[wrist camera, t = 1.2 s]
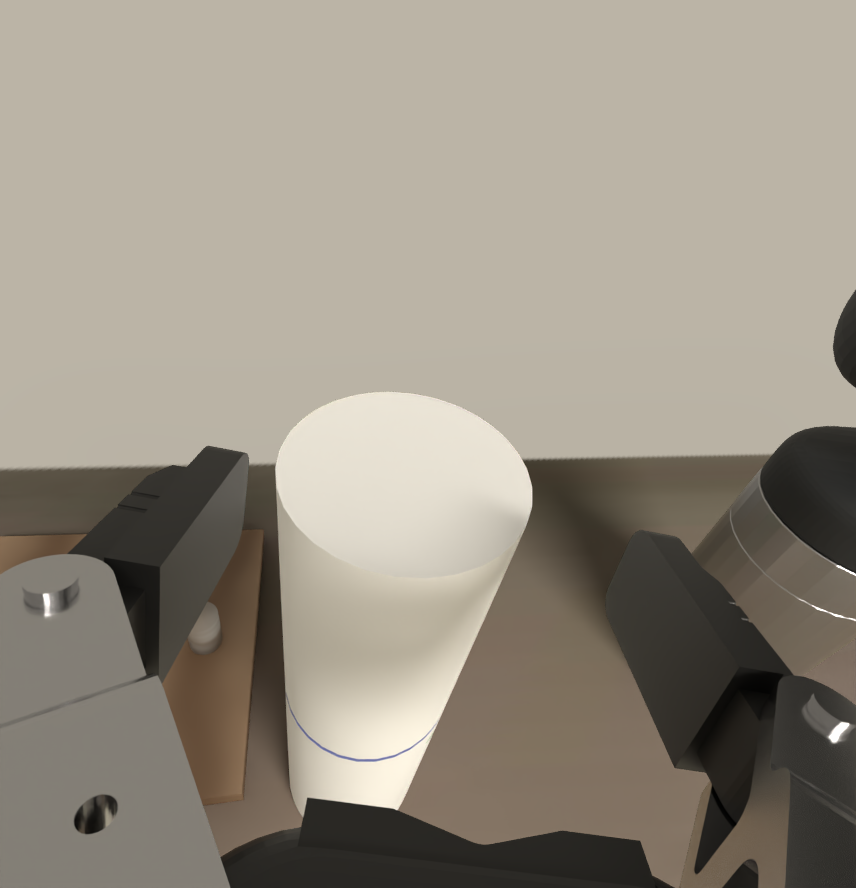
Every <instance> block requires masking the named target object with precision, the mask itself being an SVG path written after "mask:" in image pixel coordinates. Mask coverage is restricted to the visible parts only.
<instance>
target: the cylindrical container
mask: <svg viewBox="0 0 856 888" xmlns="http://www.w3.org/2000/svg"><path fill="white" fill-rule="evenodd" d="M275 472H276V494H277V517H278V540H279V563H280V586H281V608H282V628H283V649H284V670H285V692H286V715H287V738H288V758H289V778H290V789H291V793H292V797H293V800H294V803H295V805H296V807H297V809H298V811H299V813H300V814H301V815H302V817H303V816H304V811H305V806H306V802H307V797H308V798H316V799H324V800H331V801H339V802H346V803H354V804H362V805H369V806H377V807H385V808H392V809H395V810H398V808H399V806H400V805H401V803H402V801H403V799H404V797H405V795H406V793H407V791H408V788H409V786H410V784H411V782H412V779H413V777H414V775H415V773H416V770H417V768H418V766H419V764H420V761H421V759H422V757H423V755H424V752H425V750H426V748H427V746H428V743H429V741H430V739H431V737H432V734H433V732H434V730H435V728H436V725H437V723H438V721H439V719H440V716H441V714H442V712H443V710H444V708H445V705H446V703H447V701H448V699H449V696H450V694H451V692H452V690H453V688H454V685H455V683H456V681H457V679H458V676H459V674H460V672H461V670H462V668H463V665H464V663H465V661H466V659H467V656H468V654H469V652H470V650H471V647H472V645H473V643H474V641H475V639H476V636H477V634H478V632H479V630H480V627H481V625H482V623H483V621H484V619H485V616H486V614H487V612H488V610H489V607H490V605H491V603H492V601H493V598H494V596H495V594H496V592H497V590H498V587H499V585H500V583H501V581H502V578H503V576H504V574H505V572H506V570H507V567H508V565H509V563H510V561H511V558H512V556H513V554H514V552H515V549H516V547H517V545H518V543H519V541H520V538H521V536H522V534H523V532H524V529H525V527H526V525H527V522H528V519H529V515H530V512H531V508H532V485H531V481H530V478H529V474H528V471H527V468H526V466H525V464H524V462H523V461H522V459H521V457H520V455H519V453H518V452H517V451H516V449H515V448H514V447H513V446H512V445H511V443H509V441H508V440H507V438H505V437H504V436H503V435H502V434H501V433H500V432H499V431H498V430H497V429H495V428H494V427H493V426H492V425H491V424H489V423H488V422H486V421H485V420H483V419H482V418H480V417H479V416H477V415H475V414H473V413H471V412H469V411H467V410H465V409H463V408H461V407H459V406H457V405H454V404H451V403H448V402H446V401H443V400H440V399H437V398H432V397H428V396H423V395H418V394H412V393H402V392H371V393H365V394H359V395H352V396H349V397H346V398H342V399H339V400H335V401H333V402H330V403H328V404H326V405H324V406H322V407H320V408H318V409H316V410H315V411H313V412H312V413H310V414H309V415H307V416H306V417H304V418H303V419H302V420H301V421H300V422H299V423H298V424H297V425H296V426H295V427H294V428H293V429H292V430H291V431H290V432H289V434H288V436H287V437H286V439H285V441H284V443H283V444H282V446H281V448H280V450H279V455H278V459H277V463H276V467H275Z"/></svg>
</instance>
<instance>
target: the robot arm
mask: <svg viewBox="0 0 856 888" xmlns="http://www.w3.org/2000/svg"><path fill="white" fill-rule="evenodd" d="M833 351H834V357H835V362H836V365H837V367H838V368H839V370H840V372H841V374H842V375H843V377H844V378H845V379H846V380H847V381H848V382H849V383H850V384H852V385H853V386H854V387H856V290H855V292H854V294H853V295H852V296H851V298H850V299H849V301H848V302H847V304H846V306H845V308H844V310H843V312H842V314H841V316H840V319H839V321H838V324H837V327H836V330H835V336H834V343H833ZM248 468H249V457H248V454H247V453H243V452H238V451H233V450H227V449H223V448H217V447H212V446H206V447H205V448H204V449H203V450H202V451H201V452H200V453H199V454H198V455H197V457H196V458H195V459H194V460H193V461H192V462H191V463H190V464H189V465H188V466H187V467H181V466H175V465H171V466H169V467H167V468H165V469H162V470H160V471H158V472H155V473H153V474H151V475H149V476H147V477H146V478H145V479H144V480H143V481H142V482H141V483H140V484H139V485H138V486H137V487H136V488H135V489H134V490H133V491H132V493H131V495H129V494H128V495H127V496H126V497H125V498H124V499H123V500H122V501H121V502H120V503H119V504H118V507H117V508H114V509H113V510H112V511H111V512H110V513H109V514H108V515H107V516H106V517H105V518H104V519H103V520H102V521H100V522H99V523H98V524H97V525H96V526H95V527H94V528H93V529H92V530H91V531H90V532H89V533H88V534H87V535H86V536H85V537H84V538H83V539H82V540H81V541H80V542H79V543H78V544H77V545H76V546H75V547H74V548H73V549H71V550H70V551H69V552H68V553H67V554H61V555H51V556H45V557H41V558H36V559H33V560H30V561H27V562H24V563H21V564H19V565H16V566H14V567H12V568H10V569H8V570H7V571H5V572H3V573H2V574H0V888H674V887H672V886H670V885H669V884H667V883H665V882H663V881H661V880H660V879H658V878H656V877H654V876H652V874H651V871H650V868H649V865H648V863H647V860H646V857H645V854H644V851H643V848H642V845H641V842H640V841H636V840H629V839H621V838H613V837H606V836H598V835H591V834H583V833H575V832H568V831H558V832H553V833H548V834H543V835H537V836H532V837H527V838H521V839H516V840H511V841H506V842H500V843H495V844H489V845H481V844H476V843H473V842H471V841H468V840H466V839H463V838H461V837H459V836H456V835H454V834H452V833H449V832H447V831H445V830H442V829H440V828H438V827H435V826H433V825H430V824H428V823H426V822H423V821H421V820H419V819H416V818H414V817H412V816H409V815H407V814H405V813H402V812H400V811H398V810H395V809H392V808H385V807H377V806H369V805H362V804H354V803H346V802H339V801H331V800H324V799H316V798H308V797H307V802H306V806H305V811H304V816H303V821H302V826H301V827H299V828H294V829H288V830H283V831H279V832H276V833H272V834H269V835H266V836H263V837H260V838H257V839H255V840H253V841H250V842H248V843H246V844H244V845H241V846H239V847H237V848H235V849H233V850H232V851H230V852H228V853H227V854H225V855H223V856H222V857H220V855H219V852H218V849H217V846H216V843H215V840H214V837H213V834H212V831H211V828H210V825H209V822H208V819H207V816H206V813H205V810H204V807H203V804H202V801H201V798H200V795H199V792H198V789H197V786H196V783H195V780H194V777H193V775H192V772H191V769H190V766H189V763H188V760H187V757H186V754H185V751H184V748H183V745H182V742H181V739H180V736H179V733H178V730H177V727H176V724H175V721H174V718H173V715H172V712H171V709H170V706H169V703H168V700H167V697H166V694H165V691H164V688H163V686H162V683H163V681H164V679H165V678H166V676H167V674H168V672H169V670H170V669H171V667H172V665H173V663H174V661H175V659H176V658H177V656H178V654H179V652H180V650H181V649H182V647H183V645H184V643H185V641H186V640H187V638H188V636H189V634H190V632H191V630H192V629H193V627H194V625H195V623H196V621H197V620H198V618H199V616H200V614H201V612H202V611H203V609H204V607H205V605H206V603H207V602H208V600H209V598H210V596H211V594H212V592H213V591H214V589H215V587H216V585H217V583H218V582H219V580H220V578H221V576H222V574H223V573H224V571H225V569H226V567H227V565H228V564H229V562H230V560H231V558H232V556H233V554H234V553H235V551H236V548H237V546H238V543H239V540H240V536H241V533H242V528H243V522H244V512H245V501H246V490H247V479H248ZM605 606H606V614H607V618H608V620H609V622H610V625H611V627H612V629H613V631H614V634H615V636H616V638H617V640H618V642H619V645H620V647H621V649H622V651H623V654H624V656H625V658H626V660H627V663H628V665H629V667H630V669H631V672H632V674H633V676H634V678H635V680H636V683H637V685H638V687H639V689H640V692H641V694H642V696H643V698H644V701H645V703H646V705H647V707H648V709H649V712H650V714H651V716H652V718H653V721H654V723H655V725H656V727H657V730H658V732H659V734H660V736H661V738H662V741H663V743H664V745H665V747H666V750H667V752H668V754H669V756H670V759H671V761H672V763H673V765H674V767H675V768H678V769H685V770H692V771H699V772H705V773H707V775H708V777H709V779H710V782H709V783H708V785H707V786H706V788H705V789H704V790H703V792H702V794H701V797H700V801H699V805H698V809H697V814H696V818H695V822H694V826H693V831H692V835H691V839H690V843H689V848H688V852H687V856H686V861H685V865H684V869H683V873H682V878H681V882H680V886H679V888H856V705H854V704H853V703H852V702H851V701H849V700H848V699H847V698H845V697H844V696H842V695H841V694H839V693H838V692H836V691H834V690H833V689H831V688H829V687H827V686H825V685H823V684H821V683H819V682H817V681H814V680H812V679H809V678H805V677H802V676H803V675H805V674H806V673H808V672H809V671H810V670H812V669H813V668H815V667H816V666H818V665H819V664H820V663H822V662H823V661H825V660H826V659H827V658H829V657H830V656H832V655H833V654H834V653H836V652H837V651H839V650H840V649H842V648H843V647H844V646H846V645H847V644H849V643H850V642H851V641H853V640H854V639H856V428H851V427H838V426H824V427H814V428H810V429H805V430H802V431H800V432H797V433H795V434H794V435H792V436H791V437H789V438H788V439H787V440H785V441H784V442H783V443H782V444H781V446H780V447H779V448H778V449H777V450H776V451H775V452H774V454H773V455H772V456H771V457H770V458H769V460H768V461H767V462H766V463H765V465H764V466H763V467H762V468H761V469H760V471H759V472H758V473H757V474H756V475H755V477H754V478H753V479H752V480H751V482H750V483H749V484H748V485H747V486H746V488H745V489H744V490H743V491H742V492H741V494H740V495H739V496H738V497H737V499H736V500H735V501H734V503H733V504H732V505H731V506H730V507H729V509H728V510H727V511H726V512H725V514H724V515H723V516H722V517H721V518H720V520H719V521H718V522H717V523H716V524H715V526H714V527H713V528H712V529H711V531H710V532H709V533H708V534H707V535H706V537H705V538H704V539H703V540H702V541H701V543H700V544H699V545H698V546H697V548H696V549H695V550H694V551H693V552H692V554H691V553H690V552H689V550H688V549H687V548H686V547H685V545H684V544H683V543H682V541H681V540H680V539H679V538H677V537H675V536H670V535H665V534H660V533H654V532H649V531H644V530H639V531H637V532H636V533H635V534H634V535H633V536H632V537H631V539H630V541H629V543H628V546H627V548H626V550H625V552H624V554H623V557H622V559H621V561H620V563H619V565H618V567H617V570H616V572H615V574H614V576H613V578H612V581H611V583H610V585H609V587H608V590H607V594H606V603H605Z"/></svg>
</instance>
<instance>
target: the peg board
mask: <svg viewBox="0 0 856 888" xmlns="http://www.w3.org/2000/svg"><path fill="white" fill-rule="evenodd" d="M86 535H87V534H72V535H36V536H0V574H2V573H3V572H5V571H7V570H8V569H10V568H12V567H14V566H16V565H19V564H21V563H24V562H27V561H30V560H33V559H36V558H41V557H45V556H51V555H61V554H67V553H68V552H69V551H70V550H71V549H73V548H74V547H75V546H76V545H77V544H78V543H79V542H80V541H81V540H82V539H83V538H84V537H85V536H86ZM263 547H264V529H253V530H242V533H241V536H240V540H239V543H238V546H237V548H236V551H235V553H234V554H233V556H232V558H231V560H230V562H229V564H228V565H227V567H226V569H225V571H224V573H223V574H222V576H221V578H220V580H219V582H218V583H217V585H216V587H215V589H214V591H213V592H212V594H211V596H210V598H209V600H208V602H207V603H206V605H205V607H204V609H203V611H202V612H201V614H200V616H199V618H198V620H197V621H196V623H195V625H194V627H193V629H192V630H191V632H190V634H189V636H188V638H187V640H186V641H185V643H184V645H183V647H182V649H181V650H180V652H179V654H178V656H177V658H176V659H175V661H174V663H173V665H172V667H171V669H170V670H169V672H168V674H167V676H166V678H165V679H164V681H163V683H162V686H163V688H164V691H165V694H166V697H167V700H168V703H169V706H170V709H171V712H172V715H173V718H174V721H175V724H176V727H177V730H178V733H179V736H180V739H181V742H182V745H183V748H184V751H185V754H186V757H187V760H188V763H189V766H190V769H191V772H192V775H193V777H194V780H195V783H196V786H197V789H198V792H199V795H200V798H201V801H202V804H203V806H204V805H211V804H218V803H225V802H232V801H239V800H243V799H244V786H245V774H246V761H247V748H248V736H249V723H250V711H251V698H252V686H253V673H254V660H255V648H256V635H257V623H258V610H259V598H260V585H261V573H262V560H263Z"/></svg>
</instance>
